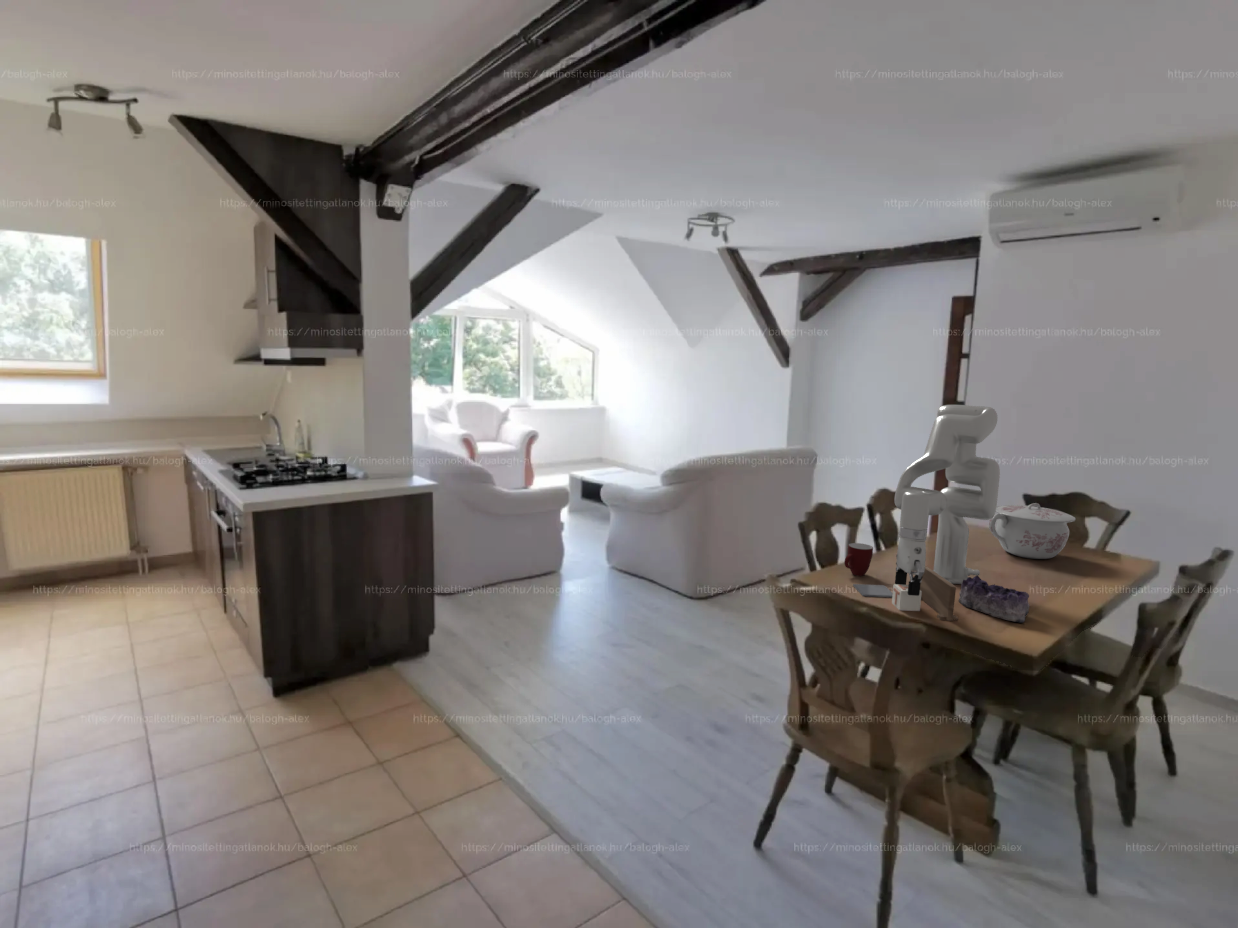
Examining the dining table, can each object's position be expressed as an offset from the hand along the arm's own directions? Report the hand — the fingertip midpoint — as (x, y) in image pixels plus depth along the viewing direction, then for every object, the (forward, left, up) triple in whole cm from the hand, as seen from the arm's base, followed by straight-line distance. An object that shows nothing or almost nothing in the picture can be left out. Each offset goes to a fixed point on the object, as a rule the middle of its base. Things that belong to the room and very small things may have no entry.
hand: (906, 589), depth 199 cm
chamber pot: (-73, -66, -6) cm, 99 cm away
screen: (-9, 0, -5) cm, 10 cm away
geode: (-25, 0, -6) cm, 26 cm away
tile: (+5, -13, -5) cm, 15 cm away
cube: (0, 0, -6) cm, 6 cm away
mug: (+5, -30, -6) cm, 31 cm away
